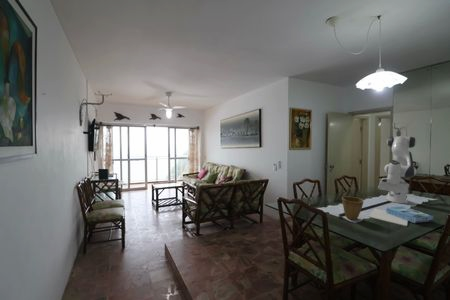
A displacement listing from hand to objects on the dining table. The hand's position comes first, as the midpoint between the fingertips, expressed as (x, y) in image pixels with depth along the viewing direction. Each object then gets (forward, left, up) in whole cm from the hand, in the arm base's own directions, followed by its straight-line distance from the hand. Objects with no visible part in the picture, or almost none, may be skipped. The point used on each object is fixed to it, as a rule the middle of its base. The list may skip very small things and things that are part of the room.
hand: (392, 196), depth 183 cm
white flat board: (+7, 0, -16) cm, 18 cm away
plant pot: (+36, -22, -16) cm, 45 cm away
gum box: (-9, +2, -13) cm, 16 cm away
